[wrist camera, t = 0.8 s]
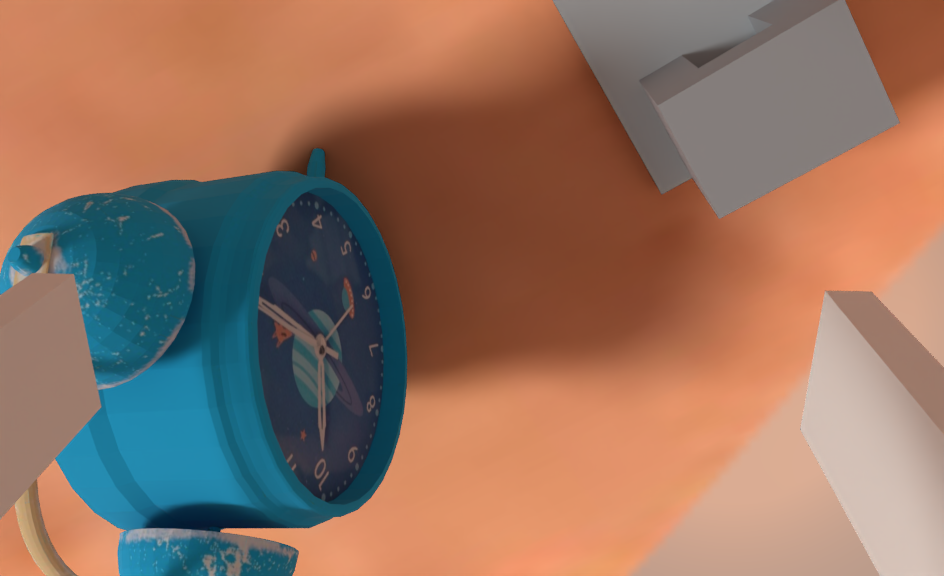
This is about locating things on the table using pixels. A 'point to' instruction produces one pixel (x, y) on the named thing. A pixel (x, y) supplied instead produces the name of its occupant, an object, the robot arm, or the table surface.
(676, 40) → the gauge board
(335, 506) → the alarm clock
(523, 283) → the table surface
